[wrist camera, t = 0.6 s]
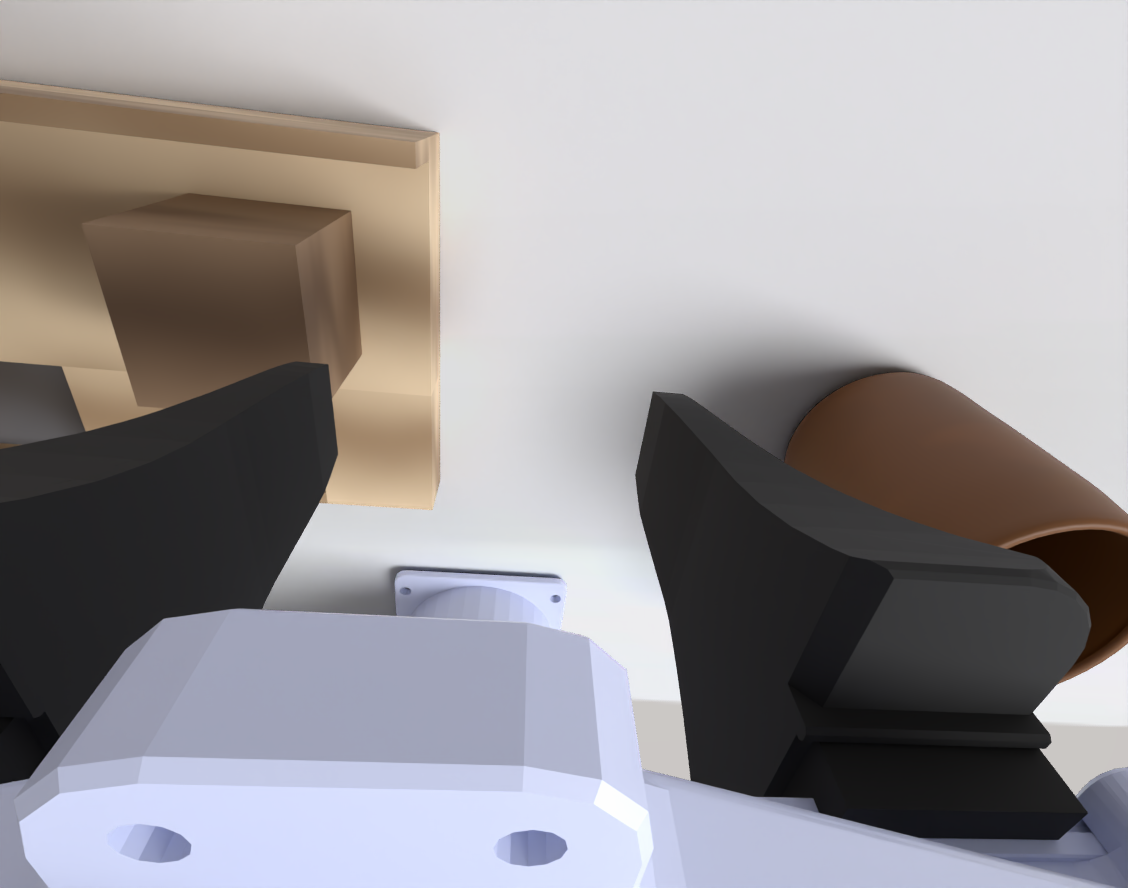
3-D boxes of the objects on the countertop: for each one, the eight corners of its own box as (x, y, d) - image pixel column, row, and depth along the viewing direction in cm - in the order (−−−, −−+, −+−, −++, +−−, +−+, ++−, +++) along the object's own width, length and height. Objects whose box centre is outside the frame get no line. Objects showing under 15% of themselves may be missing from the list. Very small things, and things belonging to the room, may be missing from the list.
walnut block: (362, 354, 19) (317, 420, 15) (220, 342, 19) (137, 406, 15) (351, 210, 17) (295, 245, 13) (189, 193, 16) (81, 223, 12)
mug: (892, 587, 29) (1030, 779, 21) (742, 588, 28) (823, 784, 20) (991, 364, 22) (1244, 515, 14) (800, 363, 22) (950, 518, 14)
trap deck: (439, 480, 24) (423, 544, 21) (-78, 445, 22) (-189, 508, 19) (439, 133, 18) (415, 142, 14) (-298, 43, 16) (-530, 29, 12)
